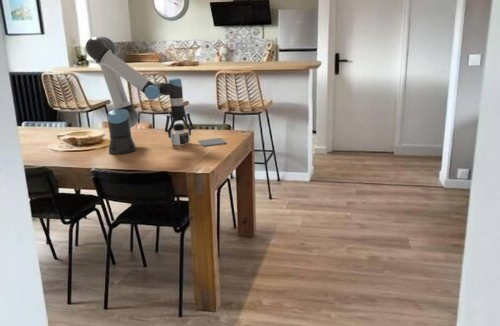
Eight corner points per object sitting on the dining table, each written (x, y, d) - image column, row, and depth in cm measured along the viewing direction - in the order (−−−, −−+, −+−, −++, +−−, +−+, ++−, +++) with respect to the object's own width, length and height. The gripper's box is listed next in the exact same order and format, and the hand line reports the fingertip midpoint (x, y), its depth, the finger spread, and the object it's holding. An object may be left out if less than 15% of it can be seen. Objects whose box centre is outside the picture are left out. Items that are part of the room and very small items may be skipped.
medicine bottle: (180, 145, 267) (178, 125, 264) (172, 144, 271) (170, 124, 268) (188, 143, 273) (187, 123, 269) (180, 141, 277) (178, 122, 274)
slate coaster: (203, 146, 263) (203, 145, 262) (198, 141, 275) (198, 140, 275) (226, 143, 267) (226, 142, 267) (220, 139, 280) (220, 137, 279)
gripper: (159, 107, 259) (162, 145, 265) (197, 104, 266) (199, 141, 272) (157, 105, 265) (160, 142, 272) (194, 102, 272) (197, 138, 279)
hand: (180, 141), depth 272 cm, fingers closed on medicine bottle, 10 cm apart
